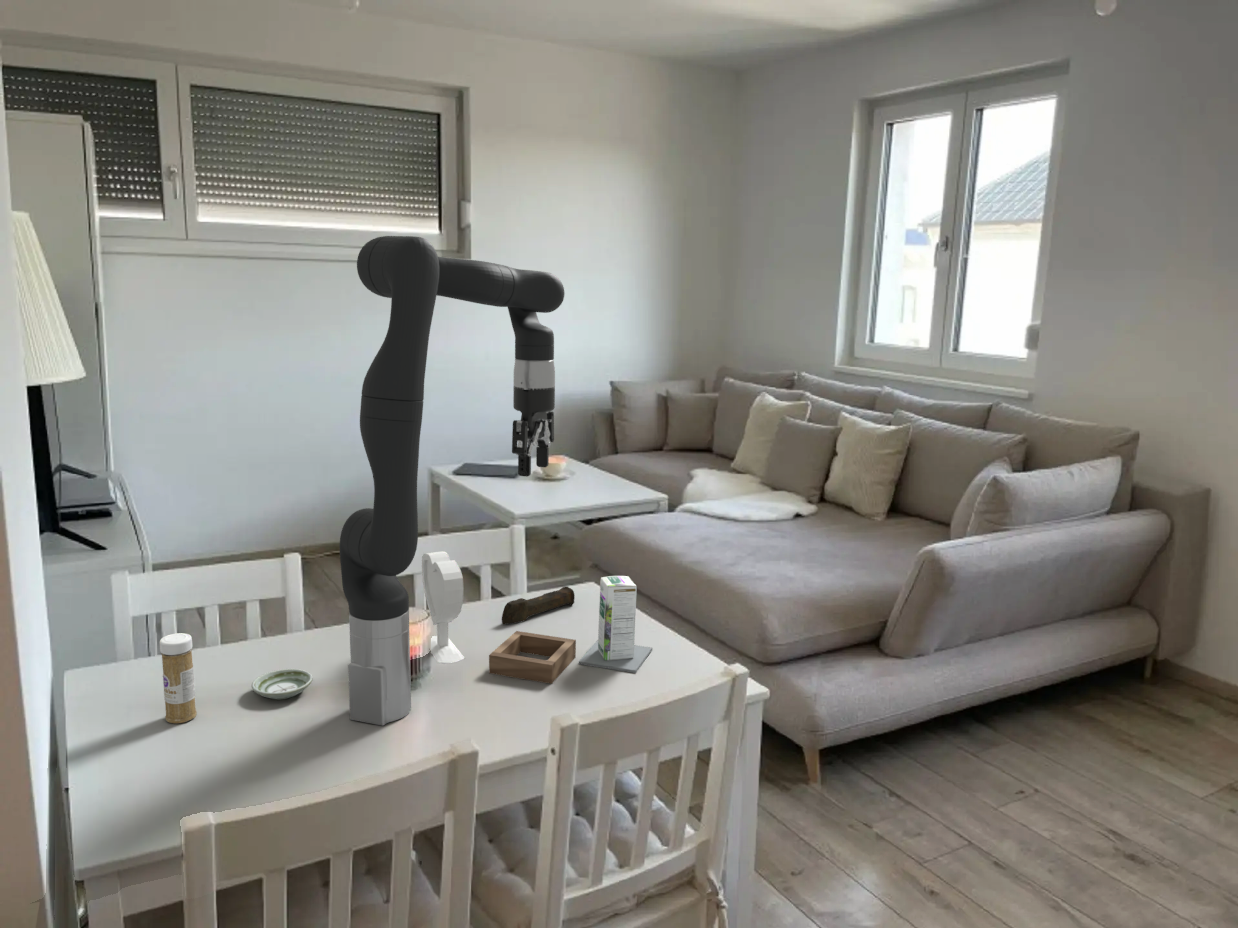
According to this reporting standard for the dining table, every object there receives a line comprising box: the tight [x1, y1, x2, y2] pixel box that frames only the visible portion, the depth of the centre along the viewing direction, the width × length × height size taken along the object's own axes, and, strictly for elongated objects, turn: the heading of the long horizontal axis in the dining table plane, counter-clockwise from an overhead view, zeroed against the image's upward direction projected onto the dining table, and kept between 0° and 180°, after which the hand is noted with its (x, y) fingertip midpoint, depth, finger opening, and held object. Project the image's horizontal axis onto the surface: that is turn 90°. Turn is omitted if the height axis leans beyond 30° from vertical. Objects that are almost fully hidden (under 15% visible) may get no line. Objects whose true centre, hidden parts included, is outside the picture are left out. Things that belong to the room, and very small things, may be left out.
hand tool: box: [501, 586, 576, 625], centre depth 193 cm, size 19×4×5 cm, turn 135°
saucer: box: [251, 668, 314, 700], centre depth 155 cm, size 10×10×2 cm
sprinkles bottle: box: [159, 632, 198, 724], centre depth 144 cm, size 5×5×13 cm
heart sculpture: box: [421, 551, 465, 664], centre depth 172 cm, size 16×5×18 cm, turn 27°
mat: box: [578, 639, 653, 674], centre depth 173 cm, size 11×11×1 cm
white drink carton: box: [597, 575, 638, 661], centre depth 171 cm, size 6×6×14 cm
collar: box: [488, 630, 577, 685], centre depth 168 cm, size 12×12×4 cm
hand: (533, 471), depth 171 cm, fingers open, 8 cm apart
